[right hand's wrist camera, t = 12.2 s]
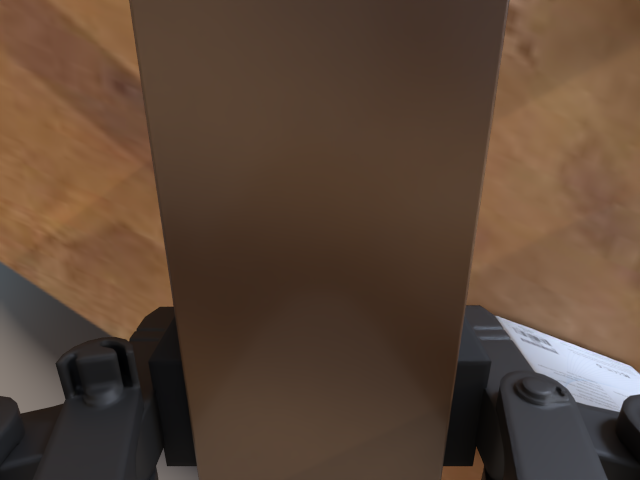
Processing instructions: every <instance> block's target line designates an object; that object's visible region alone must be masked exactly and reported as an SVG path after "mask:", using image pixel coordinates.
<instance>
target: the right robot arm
mask: <svg viewBox="0 0 640 480" xmlns="http://www.w3.org/2000/svg"><path fill="white" fill-rule="evenodd" d="M56 367H57V370H58V374H59V377H60V381H61V384H62V388H63V392H64V395H65V399H66V400H65V402H64V404H60V405H57V406H54V407H49V408H45V409H40V410H35V411H31V412H27V413H22V414H20V411H19V408H18V405H17V403H16V402H15V401H14V400H13V399H11V398H10V397H3V396H0V480H158V474H157V469H156V465H157V462H158V460H159V457H160V455H161V452H162V450H163V448H164V452H165V458H166V463H167V466H197V463H196V456H195V449H194V442H193V435H192V428H191V422H190V415H189V408H188V401H187V394H186V387H185V380H184V373H183V367H182V360H181V353H180V346H179V339H178V332H177V325H176V319H175V312H174V307H159V308H158V309H156V310H155V311H153V312H152V313H150V314H149V315H147V316H146V317H145V318H144V319H143V321H142V322H141V324H140V325H139V326H138V328H137V331H135V332H134V333H133V335H132V336H131V338H130V341H127V340H125V339H121V338H117V337H107V338H99V339H95V340H90V341H87V342H84V343H82V344H80V345H77V346H75V347H73V348H72V349H70V350H69V351H67V352H66V353H64V354H63V355H62V356H61V357H60V359H59V360H58V361H57V362H56ZM476 446H477V449H478V451H479V453H480V456H481V458H482V461H483V463H484V469H483V474H482V479H481V480H640V394H638V395H631V396H629V397H628V398H627V399H625V400H624V401H623V404H622V407H621V410H620V412H617V411H613V410H608V409H604V408H599V407H594V406H590V405H586V404H582V403H579V402H576V401H575V399H574V397H573V396H572V394H571V393H570V392H569V390H568V389H567V388H566V387H564V386H563V385H562V384H560V383H559V382H558V381H556V380H554V379H552V378H550V377H548V376H546V375H544V374H540V373H536V372H535V371H534V370H533V369H532V367H531V366H530V364H529V363H528V362H527V360H526V359H525V357H524V356H523V355H522V353H521V352H520V350H519V349H518V348H517V346H516V345H515V343H514V342H513V341H512V340H510V336H509V335H508V334H507V332H506V331H505V330H503V327H502V325H501V324H500V322H499V321H498V320H497V318H496V317H495V315H493V314H492V313H490V312H489V311H487V310H486V309H484V308H483V307H481V306H480V305H466V308H465V315H464V322H463V329H462V336H461V343H460V349H459V356H458V363H457V370H456V377H455V384H454V391H453V398H452V405H451V412H450V419H449V426H448V433H447V440H446V447H445V454H444V461H443V466H473V461H474V456H475V450H476Z"/></svg>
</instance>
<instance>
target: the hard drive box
mask: <svg viewBox="0 0 640 480" xmlns="http://www.w3.org/2000/svg"><path fill="white" fill-rule="evenodd" d="M495 317H496V318H497V320H498V321H499V322H500V324H501V325H502V327H503V330H505V331H506V332H507V334H508V335H509V336H510V340H512V341H513V342H514V343H515V345H516V346H517V348H518V349H519V350H520V352H521V353H522V355H523V356H524V357H525V359H526V360H527V362H528V363H529V364H530V366H531V367H532V369H533V370H534V371H535V372H536V373H540V374H544V375H546V376H548V377H550V378H552V379H554V380H556V381H558V382H559V383H560V384H562V385H563V386H564V387H566V388H567V389H568V390H569V392H570V393H571V394H572V396H573V397H574V399H575V401H576V402H579V403H582V404H586V405H590V406H594V407H599V408H604V409H608V410H613V411H617V412H620V410H621V407H622V404H623V401H624V400H625V399H627V398H628V397H629V396H631V395H638V394H640V374H639V373H638V372H637V371H636V370H635V369H634V368H633V367H631V366H629V365H627V364H624V363H621V362H618V361H616V360H613V359H611V358H608V357H606V356H603V355H600V354H598V353H595V352H592V351H589V350H586V349H584V348H581V347H579V346H576V345H573V344H571V343H568V342H565V341H563V340H560V339H557V338H555V337H552V336H550V335H547V334H544V333H541V332H539V331H537V330H534V329H532V328H529V327H526V326H524V325H520V324H517V323H515V322H512V321H509V320H507V319H504V318H501V317H499V316H495Z"/></svg>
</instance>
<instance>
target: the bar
mask: <svg viewBox="0 0 640 480" xmlns="http://www.w3.org/2000/svg"><path fill="white" fill-rule="evenodd" d="M129 3H130V9H131V16H132V23H133V30H134V37H135V44H136V51H137V58H138V64H139V71H140V78H141V85H142V92H143V99H144V106H145V112H146V119H147V126H148V133H149V140H150V147H151V154H152V161H153V167H154V174H155V181H156V188H157V195H158V202H159V209H160V216H161V222H162V229H163V236H164V243H165V250H166V257H167V264H168V270H169V277H170V284H171V291H172V298H173V305H174V312H175V319H176V325H177V332H178V339H179V346H180V353H181V360H182V367H183V373H184V380H185V387H186V394H187V401H188V408H189V415H190V422H191V428H192V435H193V442H194V449H195V456H196V463H197V470H198V477H199V480H441V475H442V468H443V461H444V454H445V447H446V440H447V433H448V426H449V419H450V412H451V405H452V398H453V391H454V384H455V377H456V370H457V363H458V356H459V349H460V343H461V336H462V329H463V322H464V315H465V308H466V301H467V294H468V287H469V280H470V273H471V266H472V259H473V252H474V245H475V238H476V231H477V224H478V217H479V210H480V203H481V196H482V189H483V182H484V175H485V168H486V161H487V154H488V147H489V140H490V133H491V126H492V119H493V112H494V105H495V98H496V91H497V84H498V77H499V70H500V63H501V56H502V49H503V42H504V35H505V28H506V21H507V14H508V7H509V0H129Z"/></svg>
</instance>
